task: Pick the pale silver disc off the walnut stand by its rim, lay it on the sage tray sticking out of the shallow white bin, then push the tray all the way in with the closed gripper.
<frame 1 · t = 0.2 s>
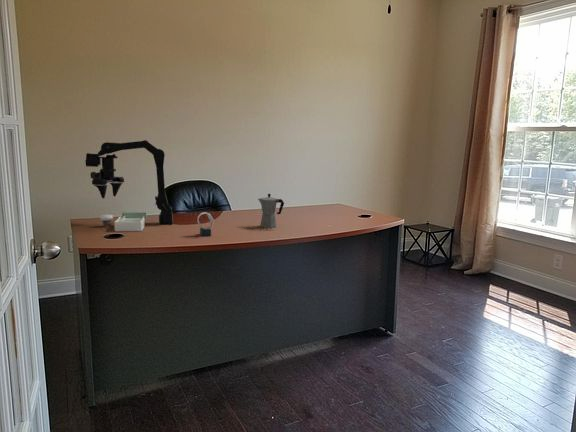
hand: (108, 197, 233), 14 cm above the table, tool pointing down, fingers open, 9 cm apart
shallow white bin: (130, 228, 228), on the table
tray: (132, 218, 237), point 3 cm above the table, slide at 8.0 cm
coffeepot: (270, 227, 245), on the table
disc: (106, 219, 230), point 3 cm above the table, touching stand
stand: (107, 226, 231), on the table
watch: (205, 235, 219), on the table
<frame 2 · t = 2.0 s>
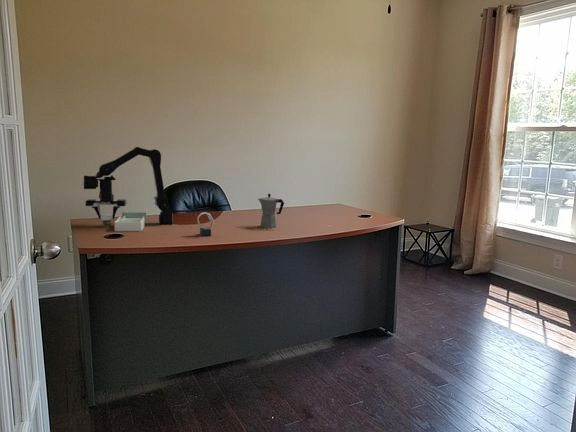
hand: (106, 219, 230), 4 cm above the table, tool pointing down, fingers closed on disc, 6 cm apart
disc: (106, 219, 230), point 4 cm above the table, touching gripper, stand
everything else where it was.
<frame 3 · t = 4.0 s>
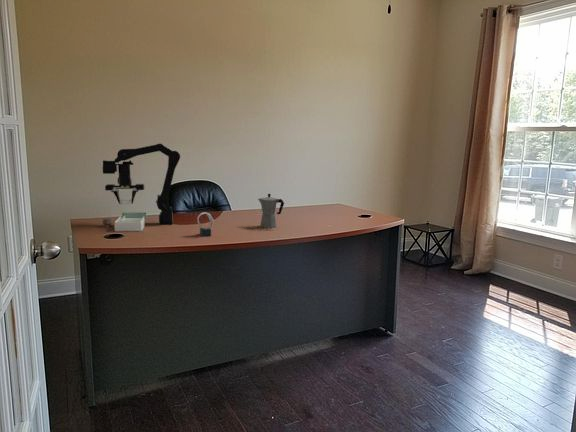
hand: (126, 203, 235), 11 cm above the table, tool pointing down, fingers closed on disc, 6 cm apart
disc: (125, 203, 235), point 11 cm above the table, touching gripper
everything else where it was.
when the fingers open (4 cm above the table, at t = 6.1 s): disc drops 2 cm, resting on tray.
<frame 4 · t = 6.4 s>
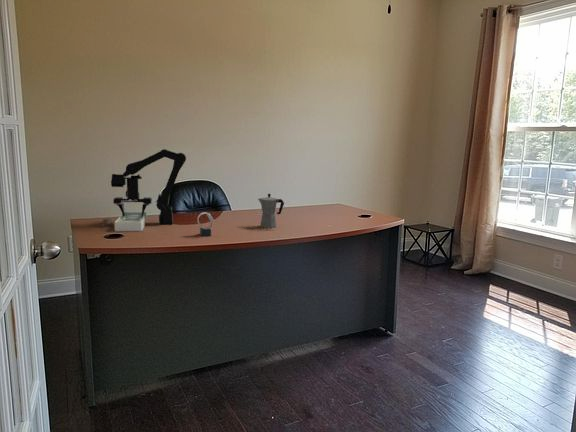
hand: (133, 216, 239), 4 cm above the table, tool pointing down, fingers open, 9 cm apart
tray: (132, 218, 237), point 3 cm above the table, slide at 8.0 cm, touching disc
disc: (133, 219, 240), point 2 cm above the table, touching tray
everything else where it was.
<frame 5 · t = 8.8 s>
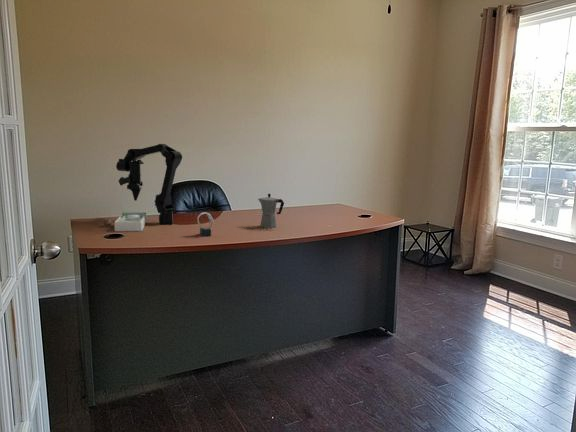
hand: (135, 200, 249), 11 cm above the table, tool pointing down, fingers closed
nothing on the table moved.
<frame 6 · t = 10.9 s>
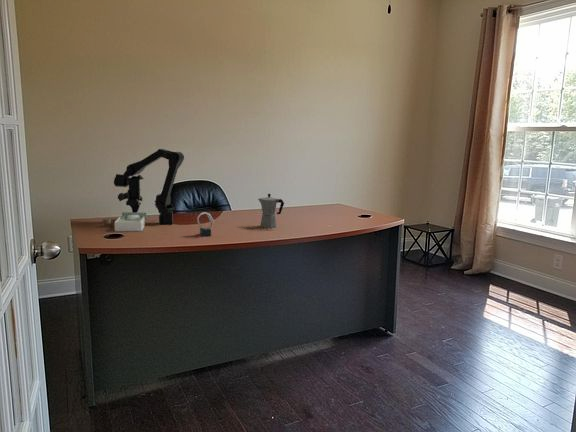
hand: (134, 216, 246), 3 cm above the table, tool pointing down, fingers closed
tray: (132, 218, 236), point 3 cm above the table, slide at 7.5 cm, touching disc, gripper
everything else where it was.
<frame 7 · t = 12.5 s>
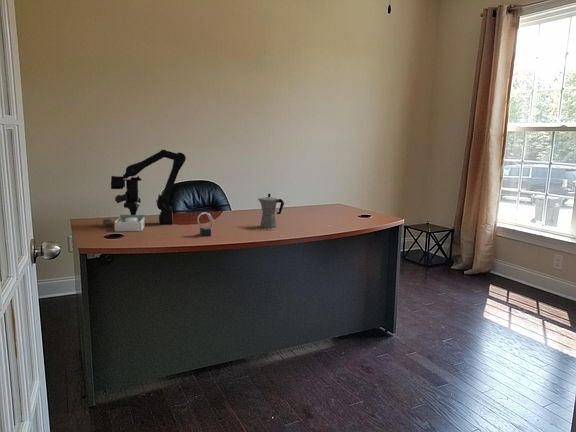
hand: (133, 218, 238), 3 cm above the table, tool pointing down, fingers closed
tray: (130, 221, 229), point 3 cm above the table, slide at -0.1 cm, touching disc, gripper
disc: (131, 222, 232), point 2 cm above the table, touching tray
everything else where it was.
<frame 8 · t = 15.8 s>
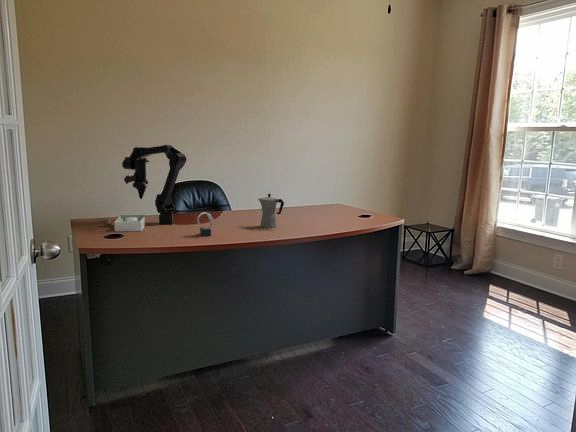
hand: (141, 198, 248), 12 cm above the table, tool pointing down, fingers closed
tray: (130, 221, 229), point 3 cm above the table, slide at 0.0 cm, touching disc
everything else where it was.
at the end: tray slide at 0.0 cm; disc inside the target area (4.0 cm from its centre), point 2.4 cm above the table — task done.
